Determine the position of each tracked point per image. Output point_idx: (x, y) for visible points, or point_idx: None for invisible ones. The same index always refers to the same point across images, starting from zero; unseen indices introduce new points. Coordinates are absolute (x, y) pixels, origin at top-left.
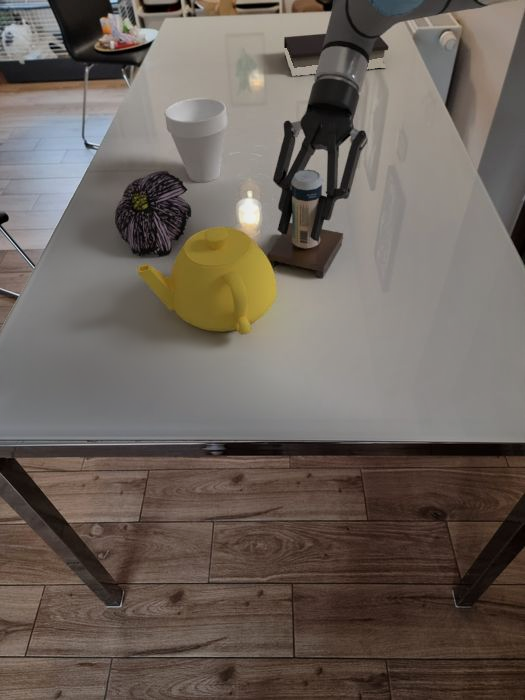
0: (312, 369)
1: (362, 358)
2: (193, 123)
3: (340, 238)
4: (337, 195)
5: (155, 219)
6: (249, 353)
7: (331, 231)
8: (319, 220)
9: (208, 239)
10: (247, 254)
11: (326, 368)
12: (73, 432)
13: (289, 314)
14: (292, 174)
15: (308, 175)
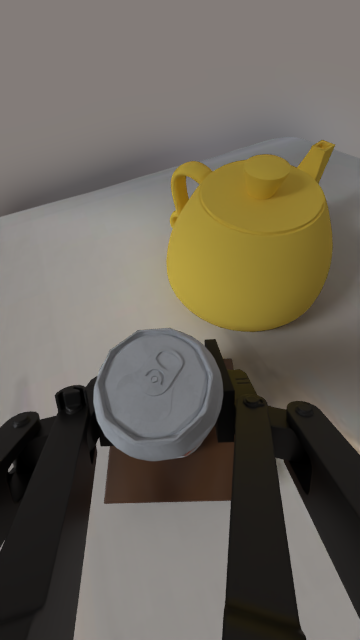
0: (100, 237)
1: (51, 263)
2: None
3: (107, 476)
4: (52, 418)
5: None
6: (168, 231)
7: (134, 499)
8: None
9: (267, 154)
10: (199, 195)
11: (87, 242)
12: (251, 147)
13: (149, 288)
14: (248, 433)
15: (150, 385)
